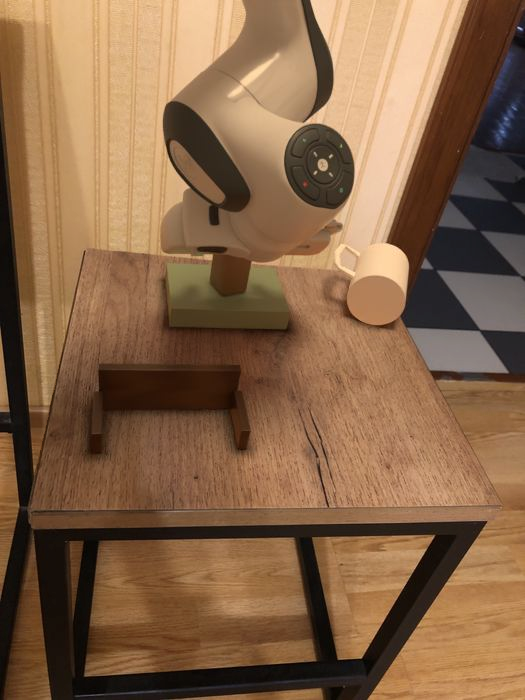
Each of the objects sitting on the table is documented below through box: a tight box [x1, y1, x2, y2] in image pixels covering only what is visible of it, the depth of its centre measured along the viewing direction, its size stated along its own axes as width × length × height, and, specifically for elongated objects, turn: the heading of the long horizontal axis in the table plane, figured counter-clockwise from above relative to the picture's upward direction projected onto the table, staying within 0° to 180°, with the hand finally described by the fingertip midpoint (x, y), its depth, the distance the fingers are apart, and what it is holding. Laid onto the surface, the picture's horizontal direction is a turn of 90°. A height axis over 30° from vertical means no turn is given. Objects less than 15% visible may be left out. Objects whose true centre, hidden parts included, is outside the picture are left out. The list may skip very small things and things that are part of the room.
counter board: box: [164, 262, 291, 330], centre depth 81 cm, size 16×11×3 cm
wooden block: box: [210, 254, 253, 296], centre depth 78 cm, size 4×4×8 cm
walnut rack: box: [90, 363, 252, 454], centre depth 61 cm, size 16×7×6 cm, turn 100°
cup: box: [333, 242, 410, 326], centre depth 86 cm, size 8×12×10 cm
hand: (231, 250), depth 76 cm, fingers open, 8 cm apart
